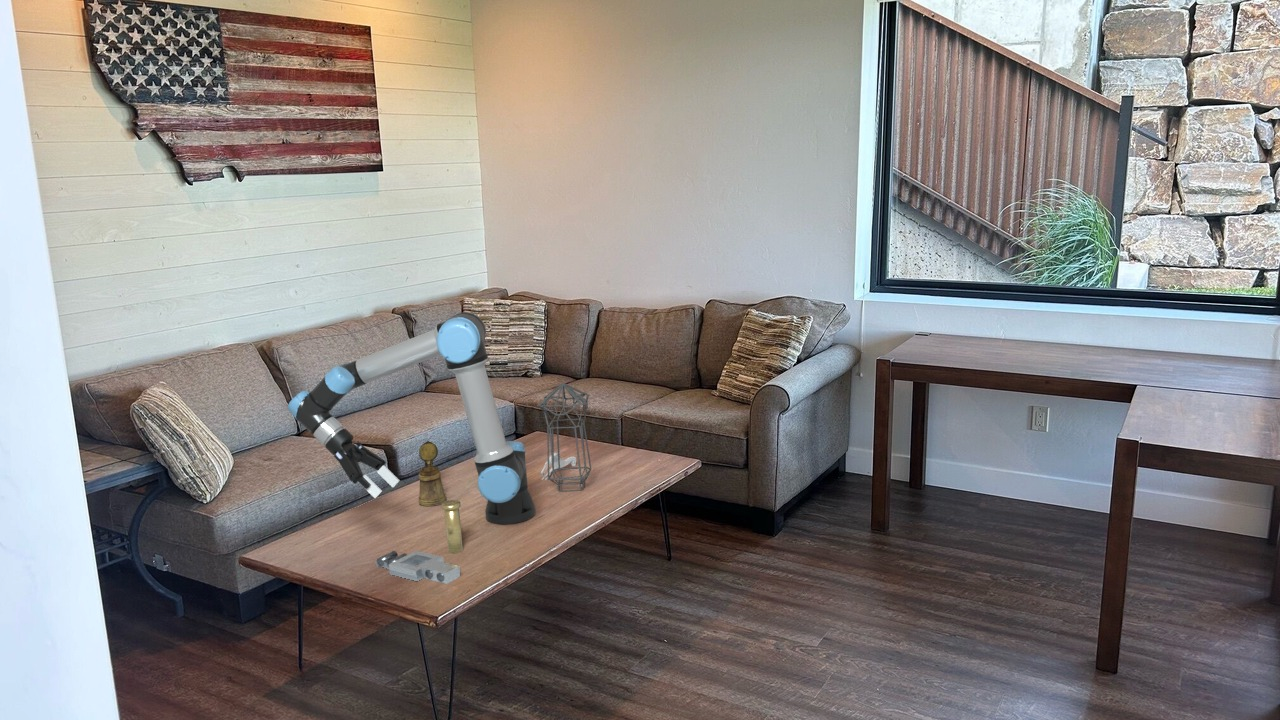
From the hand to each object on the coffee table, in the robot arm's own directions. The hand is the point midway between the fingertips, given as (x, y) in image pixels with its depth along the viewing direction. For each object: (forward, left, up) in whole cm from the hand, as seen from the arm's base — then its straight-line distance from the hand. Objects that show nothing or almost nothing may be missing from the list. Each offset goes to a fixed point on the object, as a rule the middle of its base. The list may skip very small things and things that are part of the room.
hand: (387, 489), depth 262 cm
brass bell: (-8, -37, -17) cm, 41 cm away
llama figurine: (-50, -52, -17) cm, 74 cm away
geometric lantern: (-53, -37, -17) cm, 67 cm away
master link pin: (-18, +9, -17) cm, 26 cm away
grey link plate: (-8, +20, -17) cm, 28 cm away
